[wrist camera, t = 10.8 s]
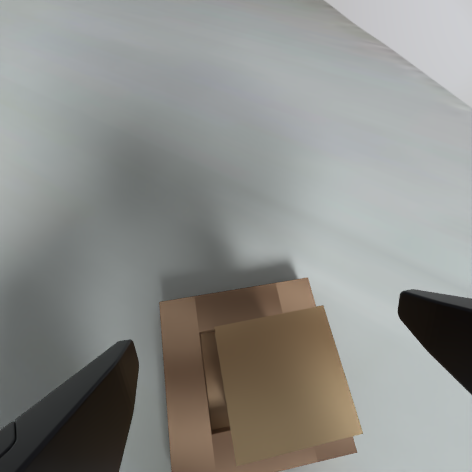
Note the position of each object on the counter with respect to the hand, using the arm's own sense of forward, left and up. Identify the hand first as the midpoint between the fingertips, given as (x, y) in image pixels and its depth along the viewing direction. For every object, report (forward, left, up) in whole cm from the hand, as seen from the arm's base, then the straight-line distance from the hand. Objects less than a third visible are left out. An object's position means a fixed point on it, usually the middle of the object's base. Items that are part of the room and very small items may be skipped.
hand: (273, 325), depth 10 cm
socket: (-1, +1, -13) cm, 13 cm away
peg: (-1, +1, -13) cm, 13 cm away
